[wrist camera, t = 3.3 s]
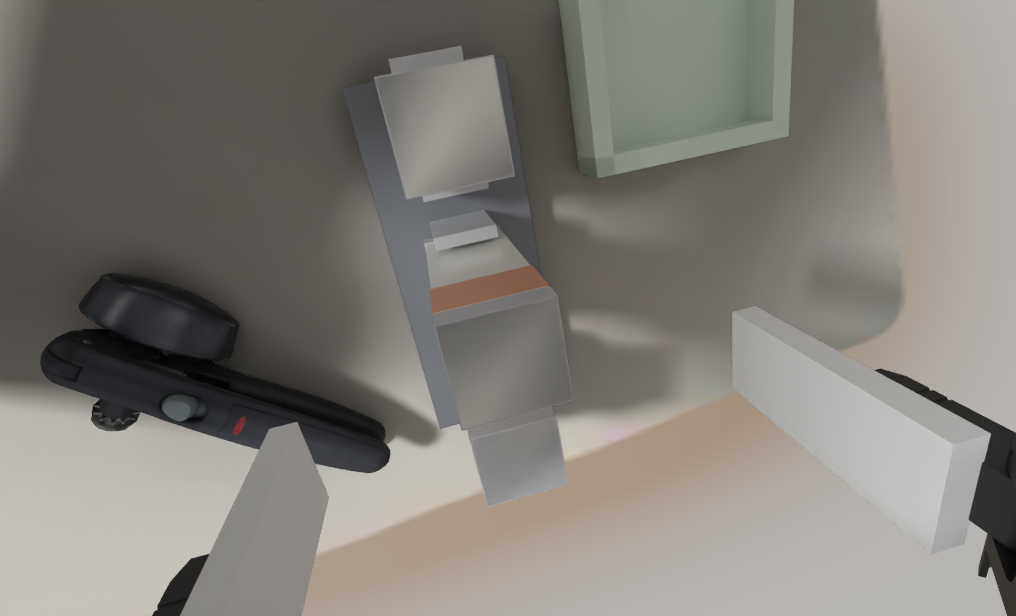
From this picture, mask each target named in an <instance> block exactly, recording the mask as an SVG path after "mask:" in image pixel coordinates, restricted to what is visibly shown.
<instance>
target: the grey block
mask: <svg viewBox="0 0 1016 616" xmlns="http://www.w3.org/2000/svg"><path fill="white" fill-rule="evenodd" d="M468 435H469V440H470V444H471V447H472V451H473V455H474V459H475V463H476V466H477V470H478V474H479V478H480V482H481V485H482V489H483V493H484V497H485V500H486V504H487V507H490V506H494V505H497V504H501V503H504V502H508V501H511V500H515V499H518V498H522V497H525V496H528V495H532V494H535V493H539V492H542V491H545V490H549V489H553V488H556V487H560V486H563V485H567V484H568V480H567V474H566V468H565V462H564V457H563V451H562V445H561V439H560V433H559V428H558V422H557V416H556V414H555V412H554V410H553V408H552V407H548V408H544V409H541V410H537V411H533V412H530V413H526V414H522V415H519V416H515V417H511V418H507V419H504V420H500V421H496V422H493V423H489V424H485V425H481V426H478V427H474V428H470V429H468Z"/></svg>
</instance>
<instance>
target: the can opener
mask: <svg viewBox="0 0 1016 616" xmlns="http://www.w3.org/2000/svg"><path fill="white" fill-rule="evenodd" d="M79 309H80V311H81V312H82V313H83V314H84V315H85V316H86V317H87V318H89V319H90V320H91V321H93V322H95V323H97V324H99V325H100V326H102V327H103V328H105V329H83V330H80V331H78V330H76V331H70V332H68V333H65V334H63V335H61V336H59V337H56V338H55V339H54V340H53V341H51V342H50V343H49V345H48V346H47V347H46V348H45V350H44V351H43V353H42V355H41V361H40V364H41V369H42V372H43V373H44V375H45V376H46V377H47V378H48V379H49V380H50V381H52V382H53V383H56V384H58V385H61V386H64V387H66V388H69V389H72V390H75V391H78V392H81V393H84V394H87V395H90V396H93V397H96V398H100V399H99V401H98V402H97V403H96V404H94V405H93V410H92V417H91V420H92V422H93V423H94V425H95V426H96V427H98V428H99V429H103V430H105V431H121V430H125V429H127V428H128V427H129V426H131V425H132V424H133V423H135V422H136V421H137V419H138V417H139V414H140V413H141V412H142V413H145V414H148V415H151V416H154V417H157V418H159V419H162V420H164V421H168V422H171V423H174V424H177V425H180V426H183V427H186V428H189V429H192V430H195V431H198V432H201V433H205V434H208V435H211V436H214V437H217V438H221V439H224V440H227V441H231V442H234V443H238V444H241V445H244V446H248V447H251V448H256V449H260V447H261V445H262V443H263V441H264V439H265V437H266V435H267V433H268V430H269V429H271V428H275V427H279V426H283V425H287V424H291V423H295V422H297V423H298V425H299V428H300V430H301V432H302V435H303V437H304V439H305V442H306V444H307V446H308V449H309V451H310V454H311V456H312V458H313V461H314V463H315V464H319V465H324V466H329V467H334V468H339V469H345V470H350V471H357V472H364V473H373V472H376V471H378V470H380V469H381V468H383V467H384V466H385V465H386V464H387V463H388V462H389V458H390V449H389V447H388V446H387V445H386V444H385V443H384V442H383V441H384V439H385V430H384V428H383V426H382V425H381V424H380V423H379V422H377V421H375V420H373V419H371V418H369V417H367V416H365V415H362V414H360V413H358V412H355V411H353V410H351V409H348V408H346V407H343V406H341V405H338V404H335V403H333V402H330V401H327V400H324V399H321V398H318V397H315V396H312V395H310V394H306V393H302V392H300V391H296V390H293V389H290V388H287V387H283V386H280V385H277V384H273V383H270V382H267V381H264V380H260V379H257V378H254V377H251V376H247V375H244V374H241V373H239V372H236V371H233V370H230V369H228V368H225V367H223V366H221V365H218V364H216V363H214V362H212V361H210V360H223V359H227V358H230V357H231V354H232V351H233V346H234V343H235V340H236V336H237V332H238V328H239V324H238V322H237V321H236V320H235V319H234V318H233V317H232V316H230V315H229V314H227V313H226V312H224V311H223V310H221V309H220V308H218V307H216V306H215V305H213V304H212V303H210V302H208V301H206V300H204V299H203V298H201V297H198V296H196V295H194V294H192V293H190V292H187V291H185V290H182V289H179V288H177V287H174V286H171V285H168V284H164V283H161V282H157V281H153V280H149V279H146V278H141V277H137V276H132V275H124V274H117V273H109V274H105V275H103V276H101V277H100V279H99V280H98V281H97V282H96V283H95V284H94V286H93V287H92V288H91V289H90V290H89V292H88V293H87V294H86V295H85V297H84V298H83V299H82V301H81V302H80V304H79ZM208 359H209V360H208Z"/></svg>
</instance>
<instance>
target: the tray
mask: <svg viewBox="0 0 1016 616" xmlns="http://www.w3.org/2000/svg"><path fill="white" fill-rule="evenodd" d="M558 4H559V12H560V20H561V28H562V36H563V45H564V53H565V61H566V69H567V77H568V86H569V94H570V102H571V110H572V118H573V127H574V135H575V143H576V151H577V159H578V168H579V173H581V174H585V175H588V176H591V177H594V178H597V179H598V178H603V177H607V176H612V175H616V174H621V173H625V172H630V171H634V170H639V169H643V168H648V167H652V166H657V165H661V164H666V163H670V162H675V161H679V160H684V159H689V158H693V157H698V156H702V155H707V154H711V153H716V152H720V151H725V150H729V149H734V148H738V147H743V146H747V145H752V144H756V143H761V142H765V141H770V140H774V139H779V138H783V137H788V136H789V116H790V92H791V68H792V44H793V20H794V0H558Z"/></svg>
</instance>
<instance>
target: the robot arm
mask: <svg viewBox="0 0 1016 616" xmlns="http://www.w3.org/2000/svg"><path fill="white" fill-rule="evenodd" d="M732 383H733V389H734V390H735V391H737V392H738V393H739V394H740V395H741V396H743V397H744V398H745V399H746V400H747V401H748V402H750V403H751V404H752V405H753V406H755V407H756V408H757V409H758V410H759V411H760V412H762V413H763V414H764V415H765V416H766V417H768V418H769V419H770V420H771V421H772V422H773V423H775V424H776V425H777V426H778V427H779V428H781V429H782V430H783V431H784V432H785V433H787V434H788V435H789V436H790V437H791V438H792V439H794V440H795V441H796V442H797V443H798V444H800V445H801V446H802V447H803V448H804V449H806V450H807V451H808V452H809V453H810V454H812V455H813V456H814V457H815V458H817V460H819V461H820V462H821V463H822V464H823V465H825V466H826V467H827V468H828V469H829V470H831V471H832V472H833V473H834V474H835V475H837V476H838V477H839V478H840V479H841V480H842V481H844V482H845V483H846V484H847V485H848V486H850V487H851V488H852V489H853V490H854V491H856V492H857V493H858V494H859V495H860V496H862V497H863V498H864V499H865V500H866V501H867V502H869V503H870V504H871V505H872V506H873V507H875V508H876V509H877V510H878V511H880V512H881V513H882V514H883V515H884V516H885V517H887V518H888V519H889V520H890V521H891V522H893V523H894V524H895V525H896V526H897V527H898V528H900V529H901V530H902V531H903V532H904V533H906V534H907V535H908V536H909V537H910V538H912V539H913V540H914V541H915V542H916V543H918V544H919V545H920V546H921V547H922V548H923V549H925V550H926V551H927V552H928V553H930V554H934V553H937V552H940V551H943V550H947V549H950V548H953V547H956V546H959V545H962V544H964V543H965V538H966V535H967V530H968V526H969V522H970V521H971V522H973V523H974V524H975V525H977V526H978V527H980V528H981V529H982V530H984V531H985V532H987V533H988V534H987V538H986V541H985V545H984V549H983V553H982V556H981V560H980V564H979V572H978V575H979V576H981V577H985V578H986V576H987V572H988V569H989V567H992V570H993V573H994V576H995V579H996V582H997V585H998V588H999V591H1000V595H1001V597H1002V601H1003V604H1004V607H1005V610H1006V613H1007V616H1016V433H1015V432H1013V431H1011V430H1009V429H1007V428H1005V427H1003V426H1001V425H1000V424H997V423H996V422H994V421H992V420H990V419H988V418H986V417H984V416H982V415H980V414H978V413H976V412H974V411H972V410H970V409H969V408H967V407H965V406H963V405H961V404H959V403H957V402H955V401H953V400H948V399H947V397H946V396H944V395H942V394H940V393H938V392H936V391H934V390H932V391H930V390H929V388H928V387H926V386H924V385H922V384H920V383H918V382H917V381H914V380H913V379H911V378H909V377H907V376H903V375H900V374H897V373H893V372H890V371H886V370H883V369H877V370H873V369H870V368H869V367H867V366H865V365H863V364H862V363H859V362H858V361H856V360H854V359H852V358H851V357H849V356H847V355H845V354H843V353H841V352H839V351H838V350H836V349H834V348H832V347H830V346H828V345H827V344H825V343H823V342H821V341H819V340H817V339H815V338H814V337H812V336H810V335H808V334H806V333H804V332H803V331H801V330H799V329H797V328H795V327H793V326H791V325H790V324H788V323H786V322H784V321H782V320H780V319H779V318H777V317H775V316H773V315H771V314H769V313H767V312H766V311H764V310H762V309H760V308H758V307H756V306H753V307H749V308H745V309H741V310H737V311H733V312H732ZM328 498H329V496H328V494H327V491H326V489H325V487H324V484H323V482H322V480H321V477H320V475H319V472H318V470H317V468H316V465H315V463H314V461H313V458H312V456H311V454H310V451H309V449H308V446H307V444H306V442H305V439H304V437H303V435H302V432H301V430H300V428H299V425H298V423H297V422H295V423H291V424H287V425H283V426H279V427H275V428H271V429H269V430H268V433H267V435H266V437H265V439H264V441H263V443H262V445H261V447H260V449H259V451H258V454H257V456H256V458H255V460H254V462H253V464H252V466H251V468H250V470H249V472H248V474H247V477H246V479H245V481H244V483H243V485H242V487H241V489H240V491H239V493H238V495H237V498H236V500H235V502H234V504H233V506H232V508H231V510H230V512H229V514H228V516H227V519H226V521H225V523H224V525H223V527H222V529H221V531H220V533H219V535H218V537H217V539H216V542H215V544H214V546H213V548H212V550H211V552H210V554H207V555H203V556H199V557H196V558H192V559H190V560H189V561H188V563H187V564H186V565H185V566H184V567H183V568H182V569H181V570H180V572H179V573H178V574H177V575H176V576H175V577H174V578H173V579H172V581H171V582H170V583H169V585H168V587H167V589H166V591H165V593H164V594H163V596H162V598H161V600H160V602H159V604H158V606H157V607H158V609H157V611H154V613H153V615H152V616H301V615H302V610H303V606H304V602H305V598H306V593H307V589H308V585H309V580H310V576H311V572H312V567H313V563H314V559H315V555H316V550H317V546H318V542H319V537H320V533H321V529H322V524H323V520H324V516H325V511H326V507H327V503H328Z"/></svg>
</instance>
